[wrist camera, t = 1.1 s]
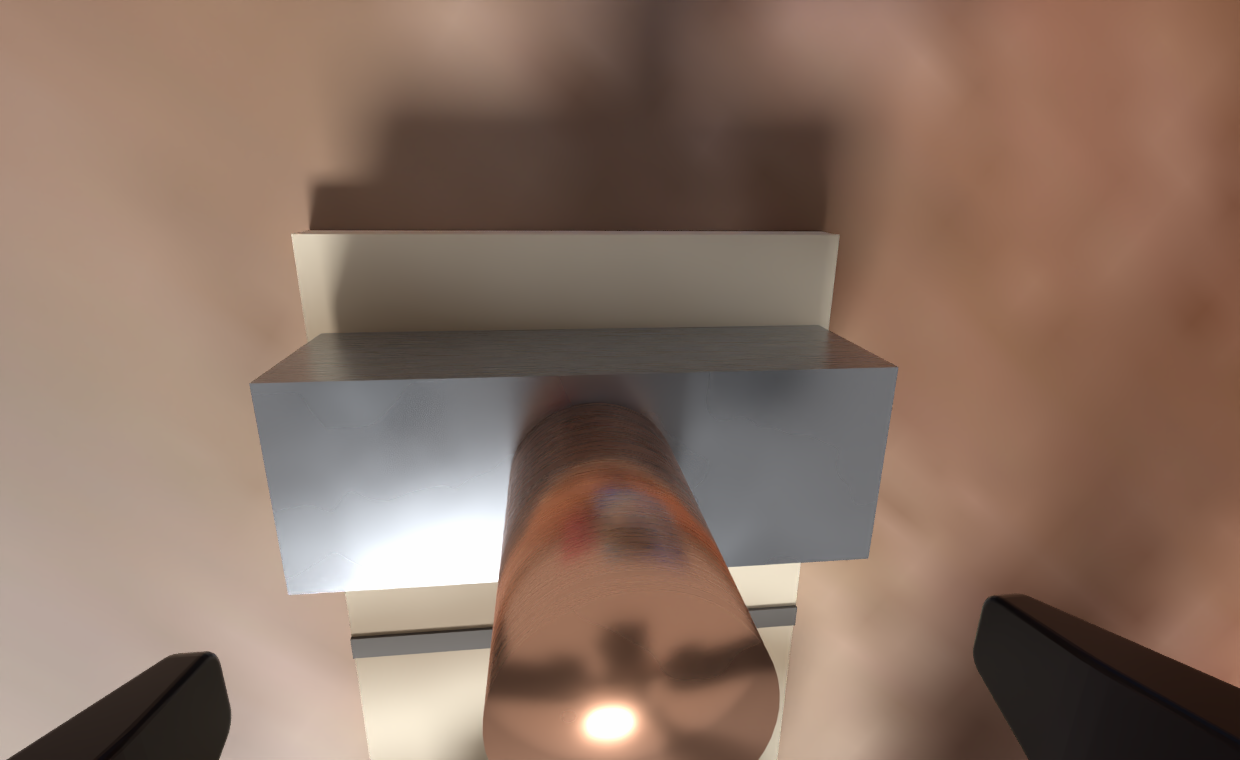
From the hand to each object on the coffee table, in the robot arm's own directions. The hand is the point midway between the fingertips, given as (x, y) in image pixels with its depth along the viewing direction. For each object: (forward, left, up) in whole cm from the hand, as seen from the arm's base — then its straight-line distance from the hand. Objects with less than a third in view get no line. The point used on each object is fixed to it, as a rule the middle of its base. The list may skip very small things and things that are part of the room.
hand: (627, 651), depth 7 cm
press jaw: (0, 0, -7) cm, 7 cm away
